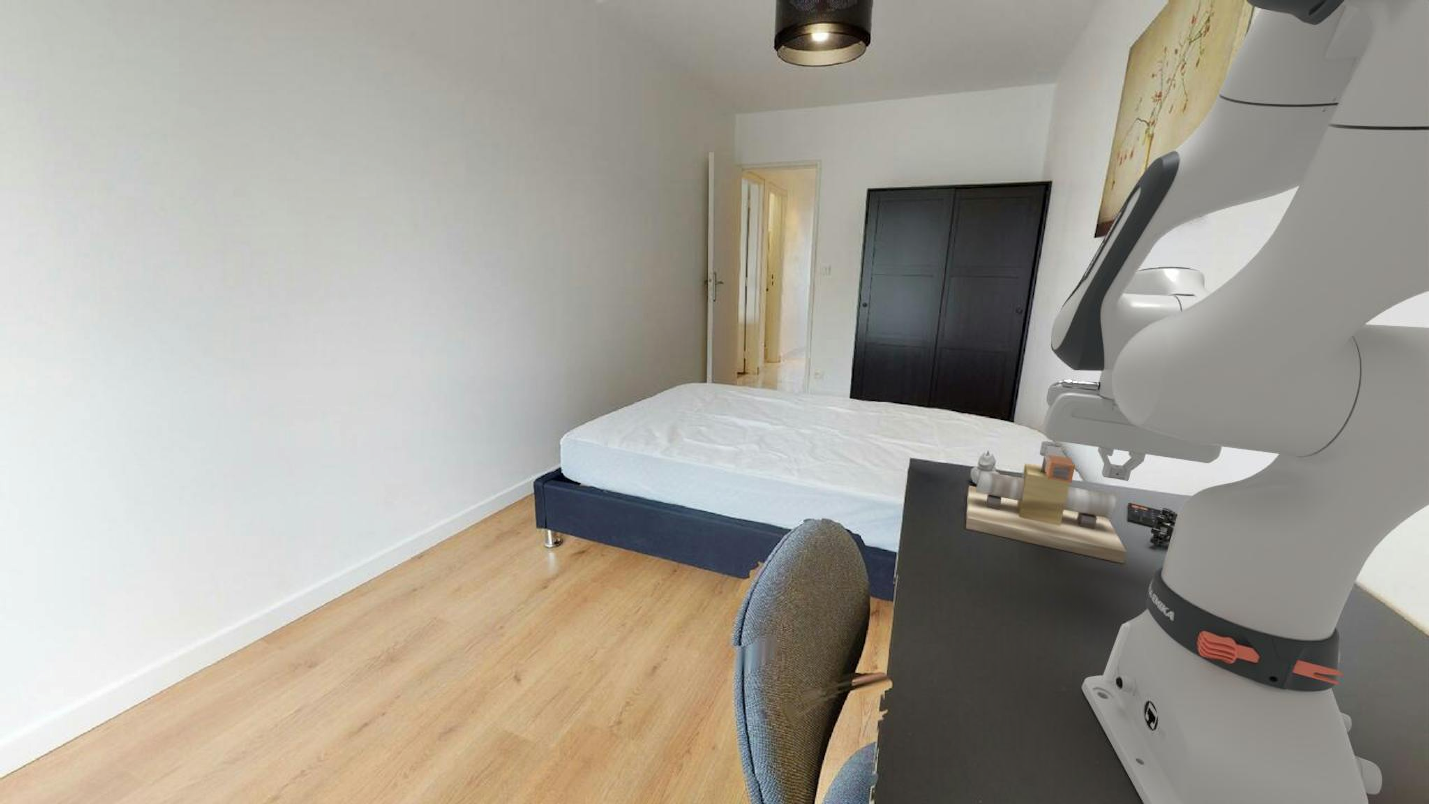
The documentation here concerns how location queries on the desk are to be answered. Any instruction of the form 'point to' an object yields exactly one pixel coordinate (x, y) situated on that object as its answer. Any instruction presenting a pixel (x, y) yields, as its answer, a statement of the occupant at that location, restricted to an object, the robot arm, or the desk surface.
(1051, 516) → the valve stand
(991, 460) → the white meringue swirl
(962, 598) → the desk surface
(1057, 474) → the valve lever
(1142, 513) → the calculator
